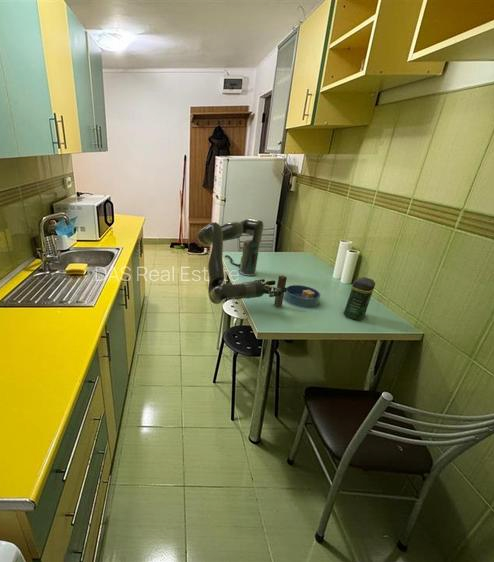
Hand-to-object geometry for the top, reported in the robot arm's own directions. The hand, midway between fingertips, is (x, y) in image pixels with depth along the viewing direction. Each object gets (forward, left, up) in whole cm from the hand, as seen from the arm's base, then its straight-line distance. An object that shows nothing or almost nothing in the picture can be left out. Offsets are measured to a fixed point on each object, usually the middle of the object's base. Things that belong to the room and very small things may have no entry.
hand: (280, 285), depth 144 cm
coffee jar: (+18, +30, -11) cm, 37 cm away
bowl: (-2, +16, -11) cm, 20 cm away
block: (-2, +20, -11) cm, 23 cm away
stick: (0, +1, -11) cm, 11 cm away
